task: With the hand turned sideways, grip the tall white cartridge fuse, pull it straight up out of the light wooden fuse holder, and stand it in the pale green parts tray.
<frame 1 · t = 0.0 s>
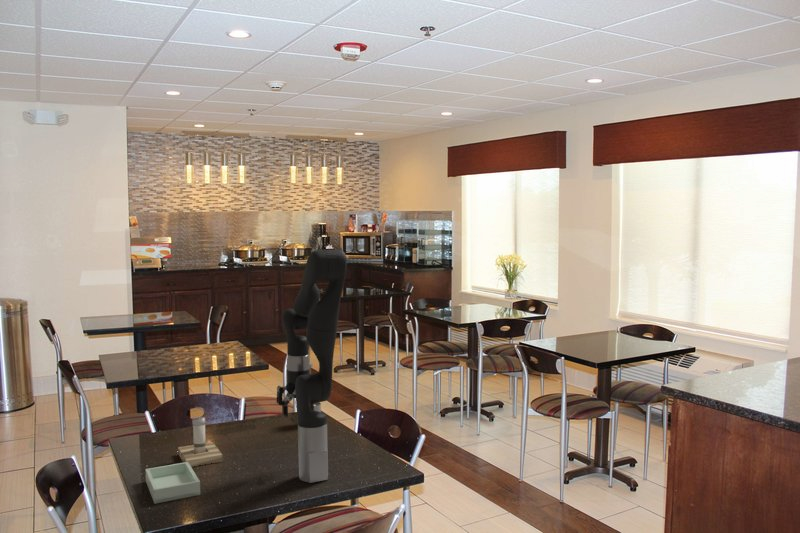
hand: (298, 414, 219), 17 cm above the table, tool pointing down, fingers open, 8 cm apart
fuse holder: (200, 457, 228), on the table
fuse: (199, 438, 228), in the fuse holder
parts tray: (172, 487, 201), on the table
french press: (309, 424, 268), on the table
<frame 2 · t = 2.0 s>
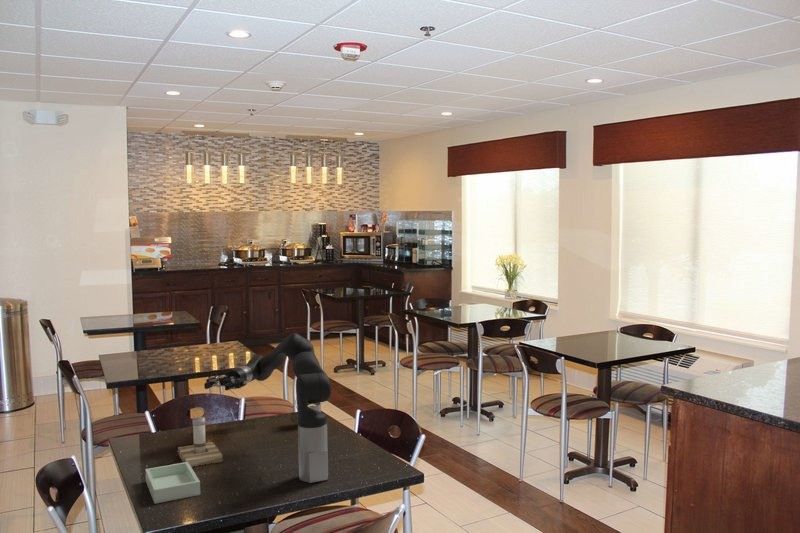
hand: (215, 387, 238), 23 cm above the table, tool horizontal, fingers open, 8 cm apart
nothing on the table moved.
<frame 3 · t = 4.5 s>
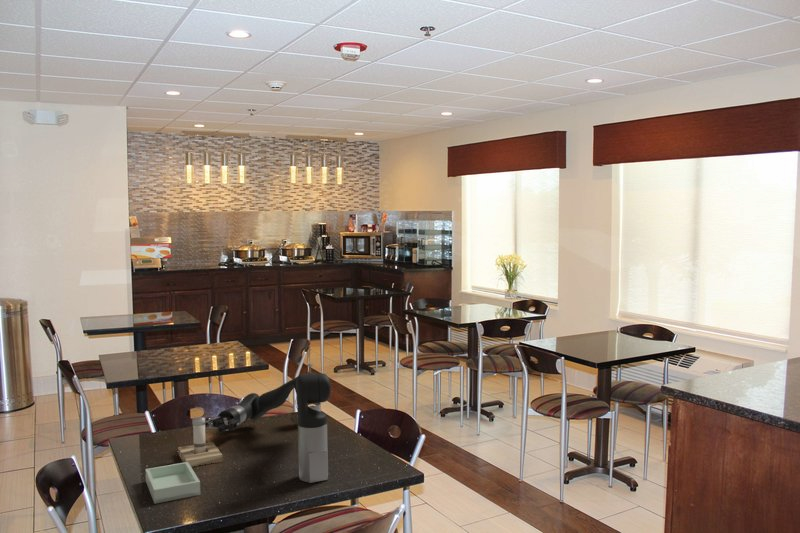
hand: (208, 429, 233), 8 cm above the table, tool horizontal, fingers open, 8 cm apart
nothing on the table moved.
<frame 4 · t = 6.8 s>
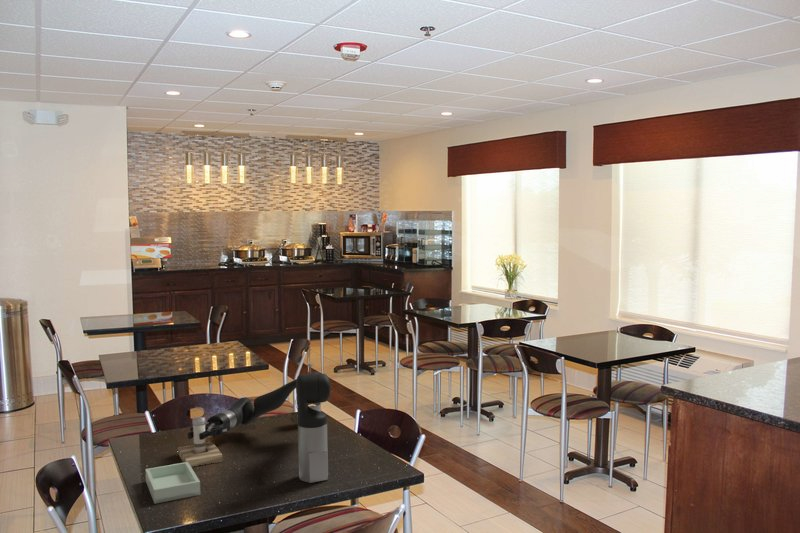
hand: (194, 436, 225), 9 cm above the table, tool horizontal, fingers closed on fuse, 4 cm apart
fuse: (199, 438, 228), in the fuse holder, touching gripper
everything else where it was.
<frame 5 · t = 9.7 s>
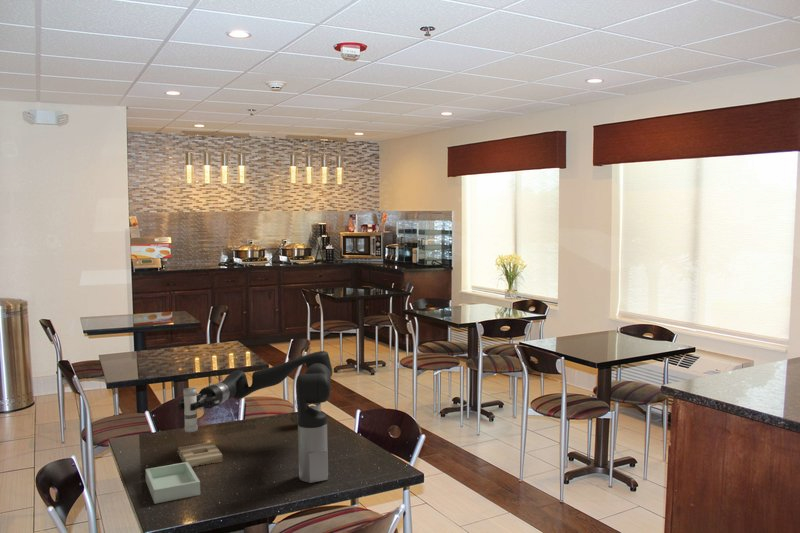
hand: (185, 407, 216), 21 cm above the table, tool horizontal, fingers closed on fuse, 4 cm apart
fuse: (190, 409, 219), point 19 cm above the table, touching gripper
everything else where it was.
when the fingers open (11 cm above the table, at t = 13.1 s): fuse drops 1 cm, resting on parts tray.
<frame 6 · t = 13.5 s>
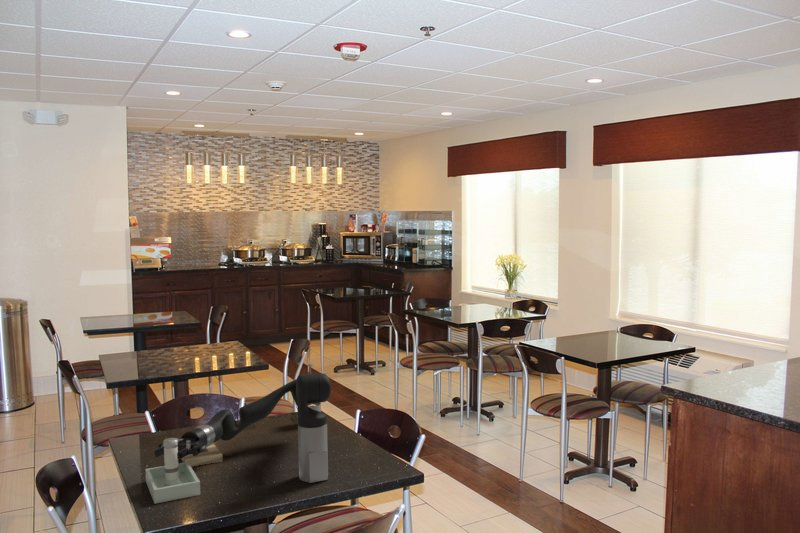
hand: (167, 454, 198), 11 cm above the table, tool horizontal, fingers open, 7 cm apart
fuse: (171, 462, 201), in the parts tray, point 8 cm above the table
everything else where it was.
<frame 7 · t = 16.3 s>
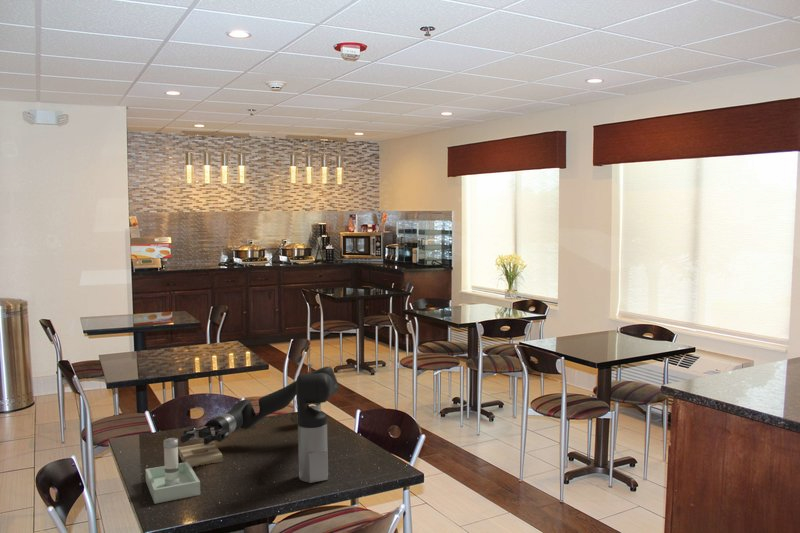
hand: (193, 440, 211), 11 cm above the table, tool horizontal, fingers open, 8 cm apart
nothing on the table moved.
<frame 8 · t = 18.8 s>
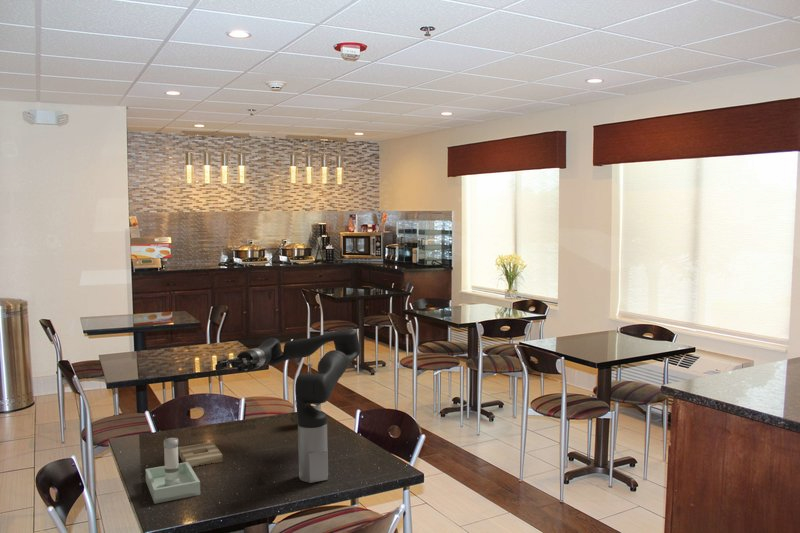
hand: (227, 368, 224), 32 cm above the table, tool horizontal, fingers open, 8 cm apart
nothing on the table moved.
at the end: fuse inside the target area on the parts tray (0.1 cm from its centre), point 8.0 cm above the parts tray's base; fuse tilted 0°; the gripper is holding nothing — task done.
